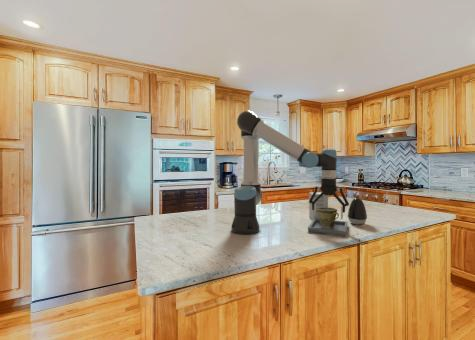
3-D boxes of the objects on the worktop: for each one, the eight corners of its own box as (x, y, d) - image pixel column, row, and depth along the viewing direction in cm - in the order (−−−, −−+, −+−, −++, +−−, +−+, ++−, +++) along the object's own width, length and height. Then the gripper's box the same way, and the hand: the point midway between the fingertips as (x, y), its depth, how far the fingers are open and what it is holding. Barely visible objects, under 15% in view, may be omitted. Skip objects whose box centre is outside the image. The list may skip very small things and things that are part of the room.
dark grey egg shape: (367, 222, 144) (367, 197, 144) (366, 226, 135) (366, 199, 135) (349, 220, 150) (349, 196, 149) (346, 224, 141) (346, 198, 140)
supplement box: (328, 221, 148) (328, 194, 148) (313, 221, 148) (313, 194, 148) (323, 217, 158) (323, 192, 157) (308, 217, 158) (308, 192, 157)
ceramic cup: (313, 225, 135) (313, 208, 135) (327, 224, 139) (327, 206, 139) (330, 232, 123) (331, 212, 123) (345, 229, 127) (345, 210, 127)
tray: (308, 232, 126) (308, 227, 126) (314, 222, 145) (314, 218, 145) (345, 236, 118) (345, 231, 118) (347, 226, 137) (347, 221, 137)
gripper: (303, 177, 133) (303, 216, 134) (354, 179, 122) (353, 221, 123) (306, 176, 140) (305, 213, 140) (354, 178, 129) (353, 218, 129)
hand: (328, 217), depth 132 cm, fingers open, 13 cm apart
